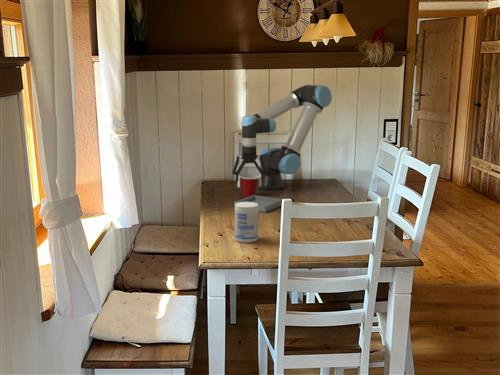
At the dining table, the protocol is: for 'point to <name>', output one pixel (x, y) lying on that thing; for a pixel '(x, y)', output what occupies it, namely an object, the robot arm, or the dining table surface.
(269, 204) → the tray
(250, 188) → the plastic cup
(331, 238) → the dining table surface
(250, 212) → the supplement tub
